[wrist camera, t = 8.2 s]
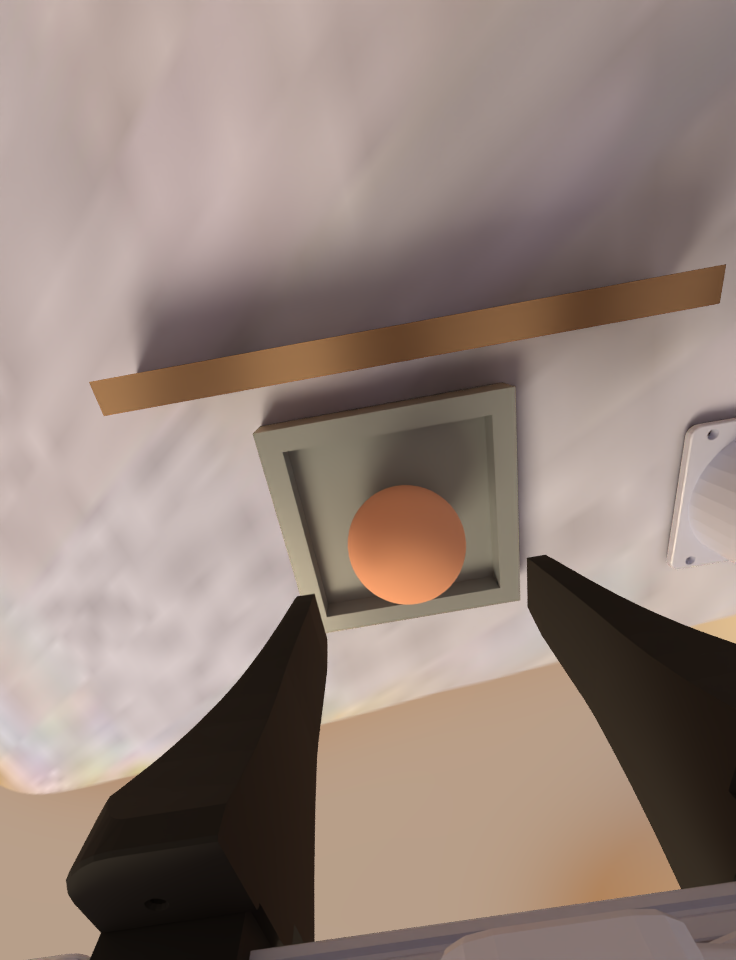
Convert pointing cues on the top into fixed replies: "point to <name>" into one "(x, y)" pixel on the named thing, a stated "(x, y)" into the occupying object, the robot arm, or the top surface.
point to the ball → (406, 544)
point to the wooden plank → (411, 341)
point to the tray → (392, 462)
